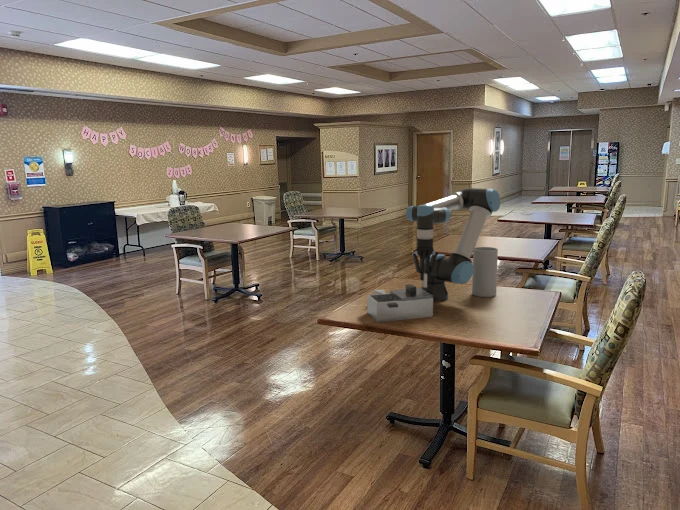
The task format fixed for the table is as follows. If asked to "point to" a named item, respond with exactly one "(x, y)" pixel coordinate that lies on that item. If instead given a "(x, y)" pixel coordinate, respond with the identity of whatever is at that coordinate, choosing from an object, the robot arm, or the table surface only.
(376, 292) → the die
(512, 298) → the table surface
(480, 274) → the cylinder vase
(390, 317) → the grey lidded storage box
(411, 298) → the lid
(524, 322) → the table surface
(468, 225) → the robot arm
